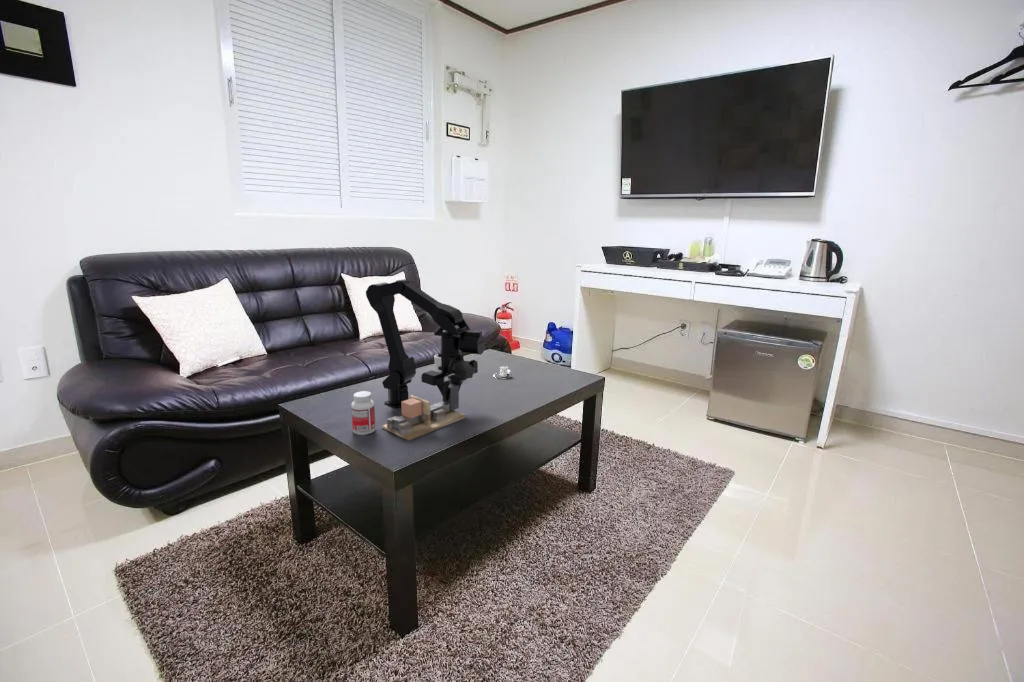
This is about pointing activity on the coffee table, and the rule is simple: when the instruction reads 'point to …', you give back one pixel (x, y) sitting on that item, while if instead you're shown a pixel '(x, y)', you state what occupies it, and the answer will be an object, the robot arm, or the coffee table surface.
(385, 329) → the robot arm
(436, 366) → the cup
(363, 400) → the pill bottle
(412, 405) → the block
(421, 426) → the rail
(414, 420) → the grey metal bar
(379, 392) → the coffee table surface
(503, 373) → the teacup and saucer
